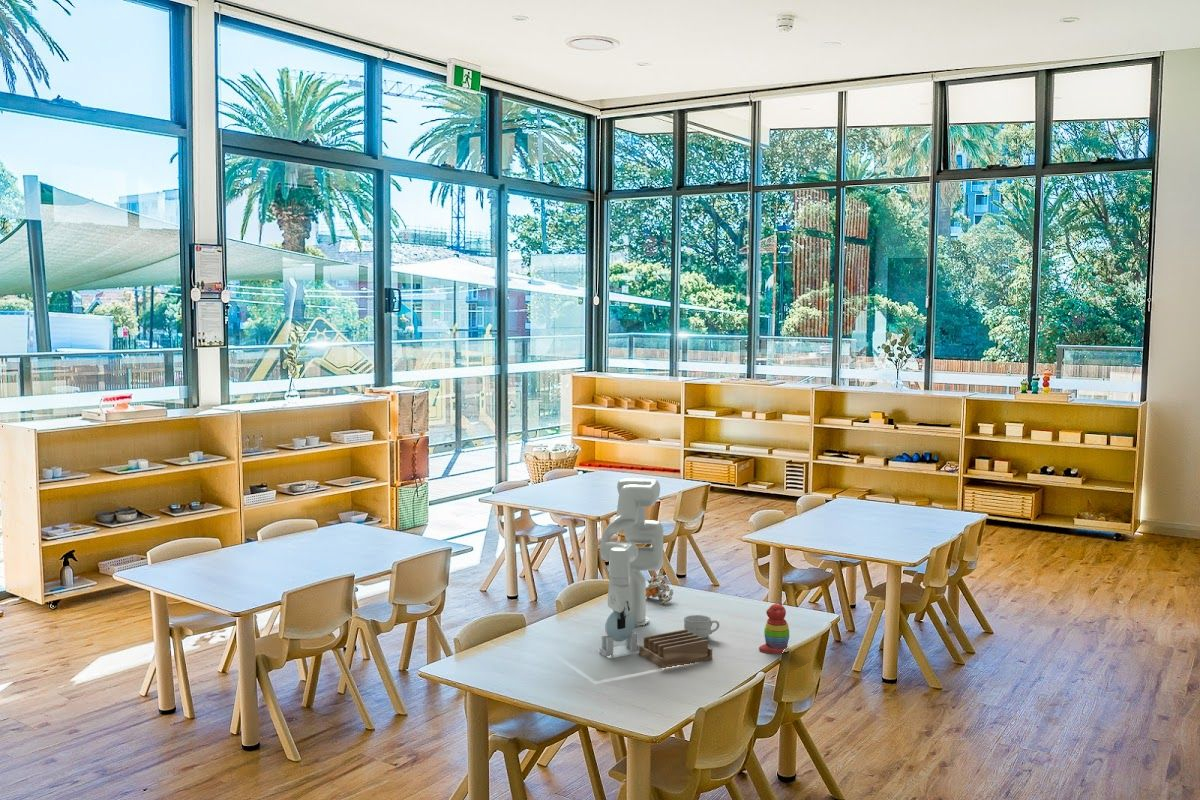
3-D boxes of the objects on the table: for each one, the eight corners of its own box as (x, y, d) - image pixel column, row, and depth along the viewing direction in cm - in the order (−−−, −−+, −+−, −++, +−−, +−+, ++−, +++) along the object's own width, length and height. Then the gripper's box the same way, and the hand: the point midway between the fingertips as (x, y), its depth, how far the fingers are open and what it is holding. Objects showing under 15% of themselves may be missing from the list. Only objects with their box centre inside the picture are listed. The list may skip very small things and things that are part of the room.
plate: (605, 643, 381) (605, 611, 380) (633, 637, 387) (632, 606, 385) (607, 644, 380) (606, 613, 378) (634, 638, 385) (634, 607, 384)
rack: (639, 656, 380) (639, 637, 379) (688, 646, 391) (688, 627, 390) (661, 670, 366) (661, 650, 365) (712, 659, 377) (712, 640, 376)
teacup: (679, 639, 399) (679, 619, 398) (690, 631, 409) (690, 612, 408) (712, 645, 393) (712, 624, 392) (722, 636, 402) (723, 616, 401)
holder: (595, 653, 384) (595, 633, 383) (630, 646, 391) (630, 627, 390) (608, 661, 375) (608, 641, 374) (643, 654, 382) (643, 635, 381)
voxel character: (655, 600, 458) (680, 590, 449) (646, 611, 450) (671, 601, 441) (641, 579, 457) (666, 569, 448) (632, 590, 449) (657, 580, 440)
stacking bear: (771, 643, 394) (771, 598, 392) (794, 649, 388) (795, 603, 386) (756, 650, 386) (757, 605, 384) (780, 656, 379) (781, 610, 378)
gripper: (600, 576, 385) (601, 623, 388) (621, 587, 372) (621, 635, 374) (618, 573, 389) (618, 620, 391) (638, 584, 375) (639, 632, 378)
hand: (619, 627), depth 383 cm, fingers closed on plate, 1 cm apart
